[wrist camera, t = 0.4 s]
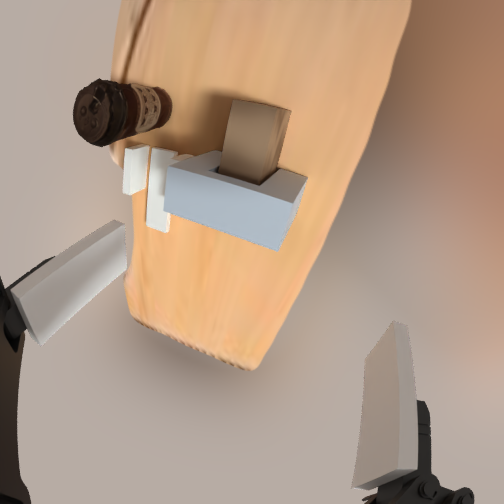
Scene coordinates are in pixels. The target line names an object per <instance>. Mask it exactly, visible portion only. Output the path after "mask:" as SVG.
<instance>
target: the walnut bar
mask: <svg viewBox="0 0 504 504" xmlns="http://www.w3.org/2000/svg"><path fill="white" fill-rule="evenodd" d="M290 114H291V111H290V110H286V109H282V108H278V107H274V106H269V105H265V104H261V103H256V102H249V101H242V100H235V99H233V102H232V106H231V111H230V116H229V120H228V125H227V130H226V135H225V140H224V145H223V150H222V155H221V161H220V166H219V171H218V174H221V175H225V176H228V177H232V178H235V179H238V180H242V181H245V182H248V183H251V184H255V185H258V186H260V185H262V184H263V183H264V182H265V181H266V180H267V179H269V178H270V177H271V176H272V175H273V174H275V173H276V169H277V165H278V161H279V157H280V153H281V150H282V146H283V142H284V138H285V134H286V130H287V126H288V122H289V118H290Z"/></svg>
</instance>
